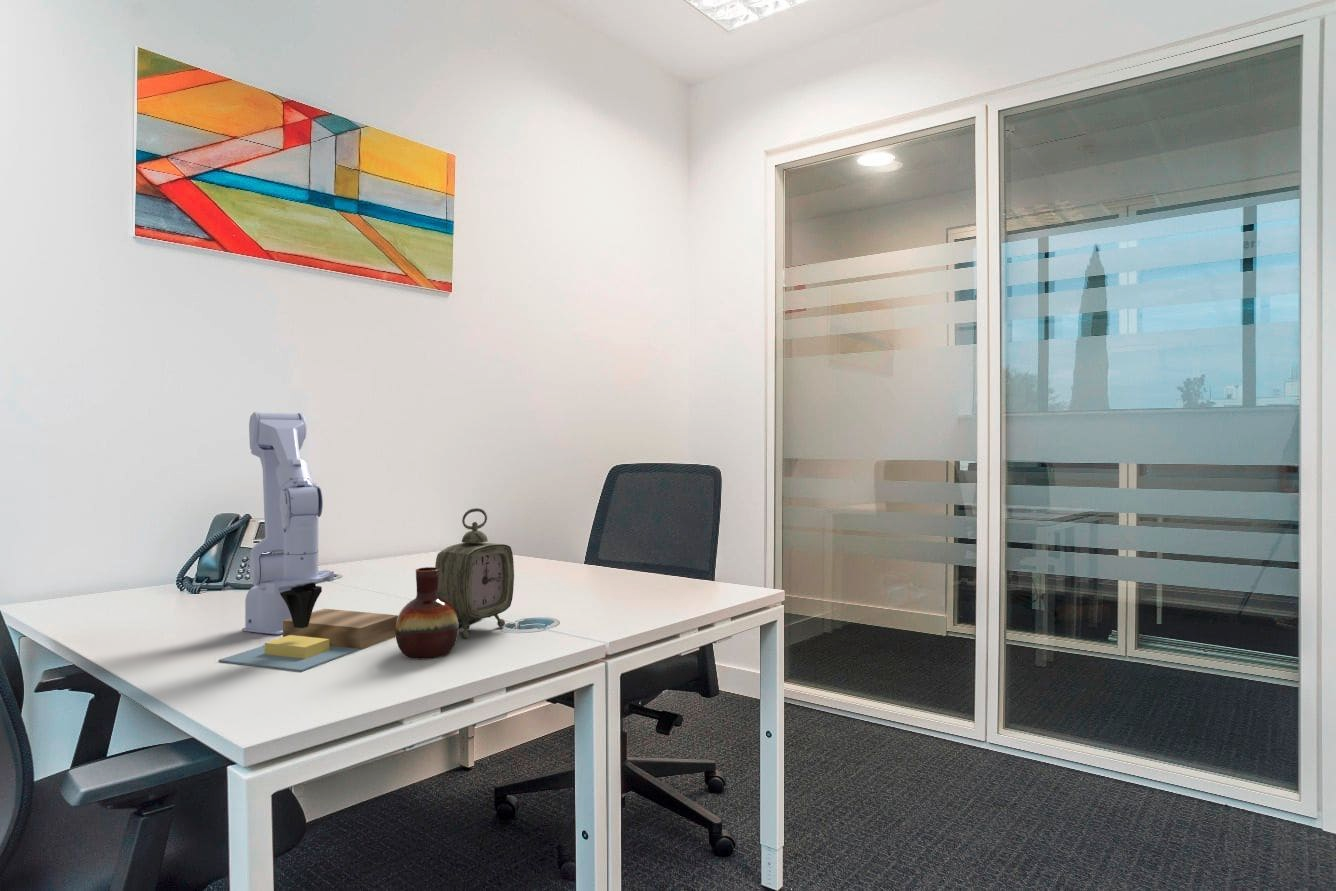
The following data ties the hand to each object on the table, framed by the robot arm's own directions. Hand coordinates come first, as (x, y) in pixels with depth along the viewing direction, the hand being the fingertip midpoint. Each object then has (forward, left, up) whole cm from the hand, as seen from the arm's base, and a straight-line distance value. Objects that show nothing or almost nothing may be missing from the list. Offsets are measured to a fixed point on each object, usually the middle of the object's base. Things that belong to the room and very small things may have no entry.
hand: (301, 627), depth 144 cm
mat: (0, -2, -5) cm, 5 cm away
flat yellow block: (0, -1, -2) cm, 3 cm away
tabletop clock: (+21, +24, -5) cm, 32 cm away
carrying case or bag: (+12, +28, -5) cm, 31 cm away
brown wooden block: (0, +11, -5) cm, 11 cm away
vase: (+22, +7, -5) cm, 24 cm away
